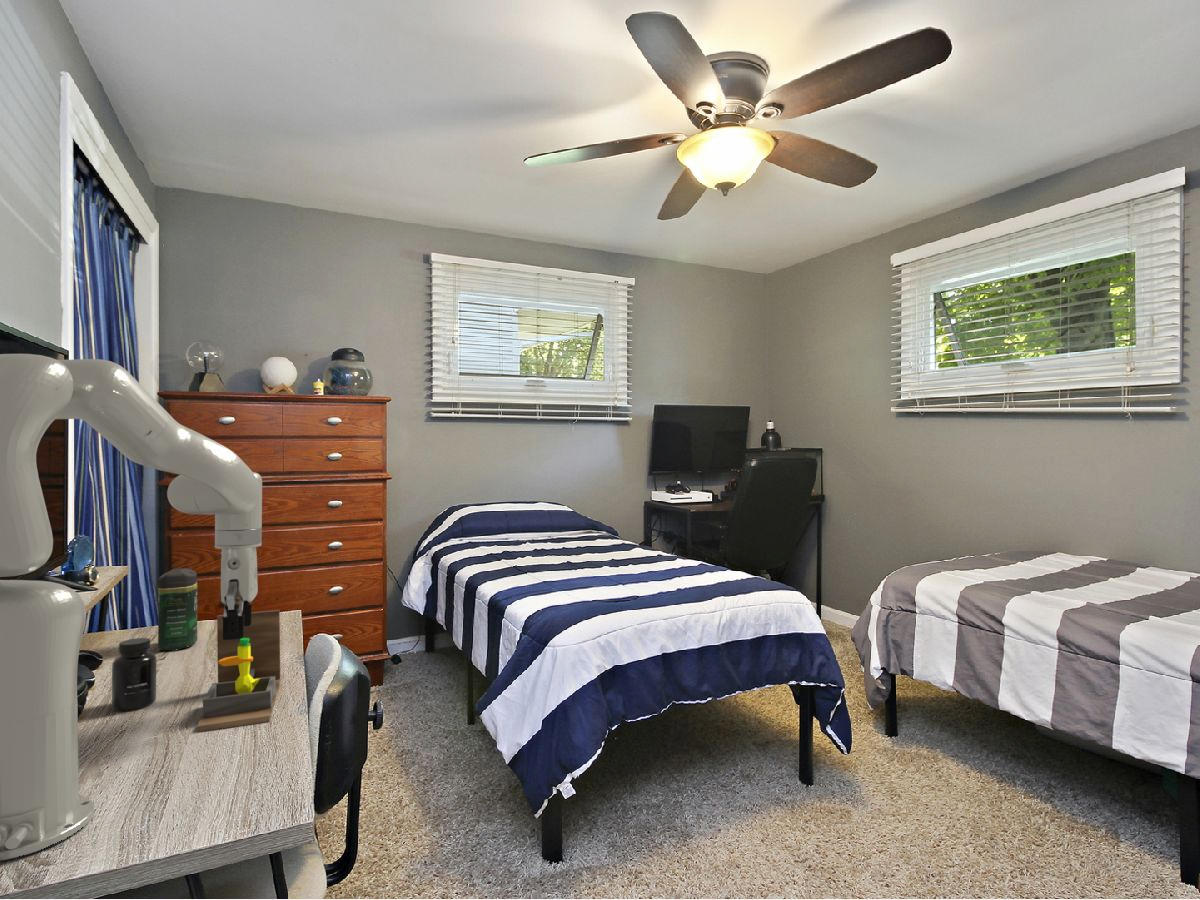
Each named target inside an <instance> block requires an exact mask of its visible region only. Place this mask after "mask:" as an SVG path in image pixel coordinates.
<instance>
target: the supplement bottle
mask: <svg viewBox="0 0 1200 900" xmlns="http://www.w3.org/2000/svg"><path fill="white" fill-rule="evenodd" d="M150 650H151V638H147V637H137V638H130V639H126V640H123V641H120V642H119V644H118V655H119V656H118V657H116V658H115V659H114V660H113V662H112V663H111V708H112V709H113V710H115V711H119V712H127V711H128V712H131V711H135V710H141V709H144V708H146V707H149V706H150V705H153V704H154V702H155V701H156V700H157V656H156V655H155V653H153V652H151V651H150Z"/></svg>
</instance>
